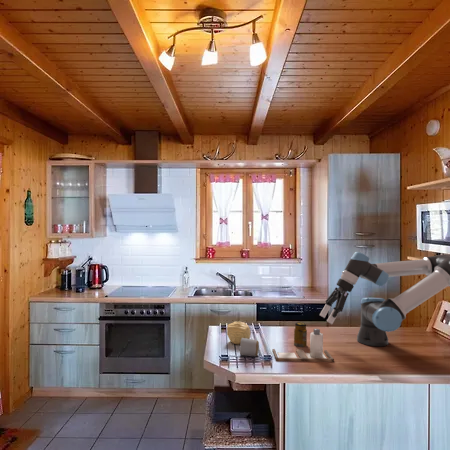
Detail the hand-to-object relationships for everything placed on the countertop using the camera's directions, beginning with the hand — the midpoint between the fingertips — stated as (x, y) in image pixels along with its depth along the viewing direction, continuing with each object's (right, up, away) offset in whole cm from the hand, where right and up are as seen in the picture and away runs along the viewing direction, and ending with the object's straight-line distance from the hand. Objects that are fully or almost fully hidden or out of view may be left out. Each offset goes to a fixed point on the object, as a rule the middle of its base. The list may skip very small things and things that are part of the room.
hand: (325, 319), depth 173 cm
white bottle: (-8, -13, -13) cm, 20 cm away
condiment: (-12, -15, +1) cm, 19 cm away
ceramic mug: (-38, -14, -8) cm, 41 cm away
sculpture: (-42, -14, +9) cm, 45 cm away
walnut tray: (-14, -14, -14) cm, 24 cm away
